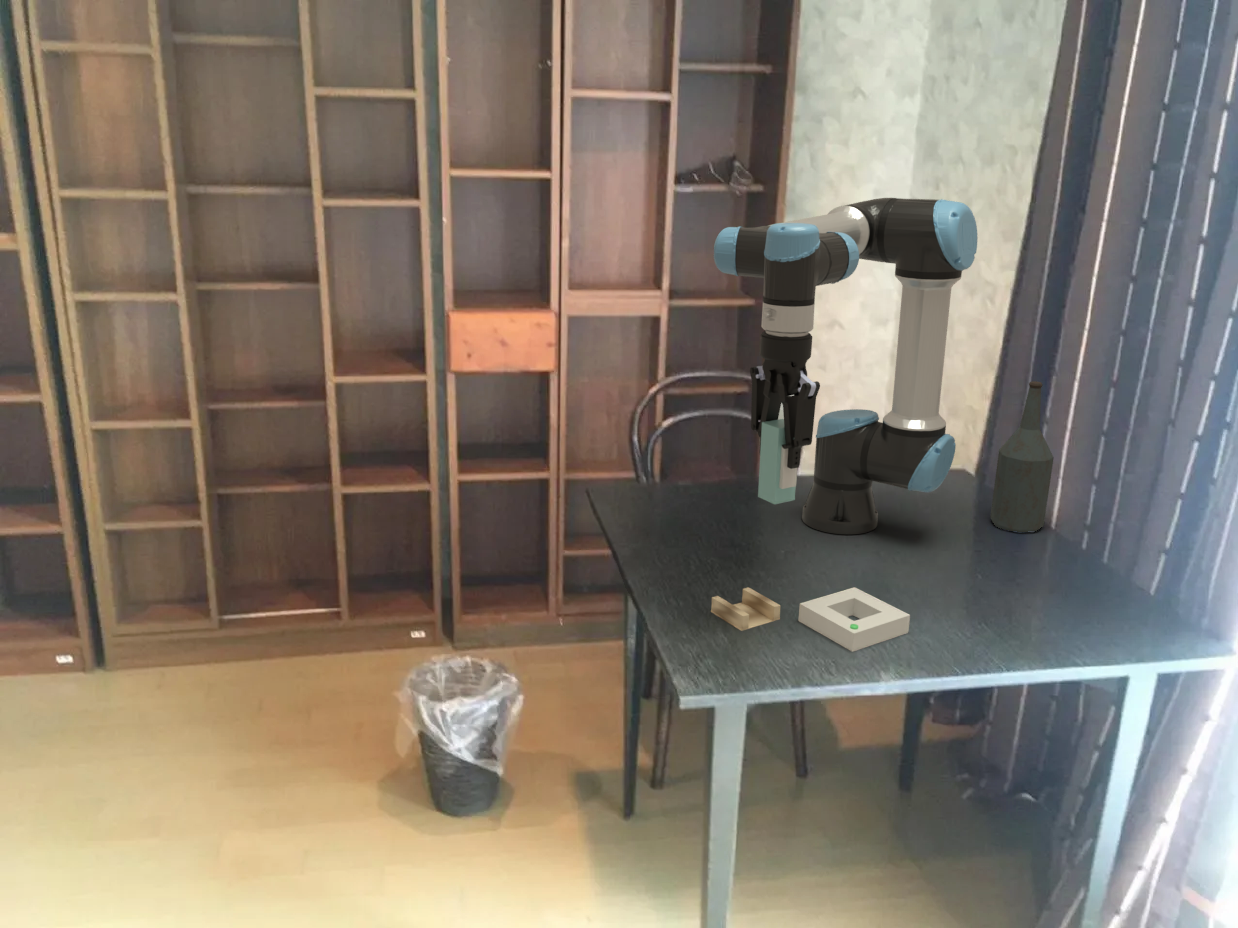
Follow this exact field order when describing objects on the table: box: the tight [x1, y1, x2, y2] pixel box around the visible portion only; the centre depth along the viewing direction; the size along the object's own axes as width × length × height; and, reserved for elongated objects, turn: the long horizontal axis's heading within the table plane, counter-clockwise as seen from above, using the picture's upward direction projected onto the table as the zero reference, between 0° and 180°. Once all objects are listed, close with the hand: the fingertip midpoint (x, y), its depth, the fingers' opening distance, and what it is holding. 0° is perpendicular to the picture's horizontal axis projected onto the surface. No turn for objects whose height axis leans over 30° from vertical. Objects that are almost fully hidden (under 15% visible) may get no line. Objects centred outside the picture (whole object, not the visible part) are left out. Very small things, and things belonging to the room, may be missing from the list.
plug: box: [757, 418, 797, 505], centre depth 156 cm, size 4×4×12 cm
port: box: [798, 587, 911, 653], centre depth 161 cm, size 12×12×5 cm
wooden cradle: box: [710, 587, 781, 632], centre depth 165 cm, size 8×8×4 cm
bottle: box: [989, 381, 1054, 532], centre depth 205 cm, size 10×10×30 cm
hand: (777, 482), depth 157 cm, fingers closed on plug, 4 cm apart
